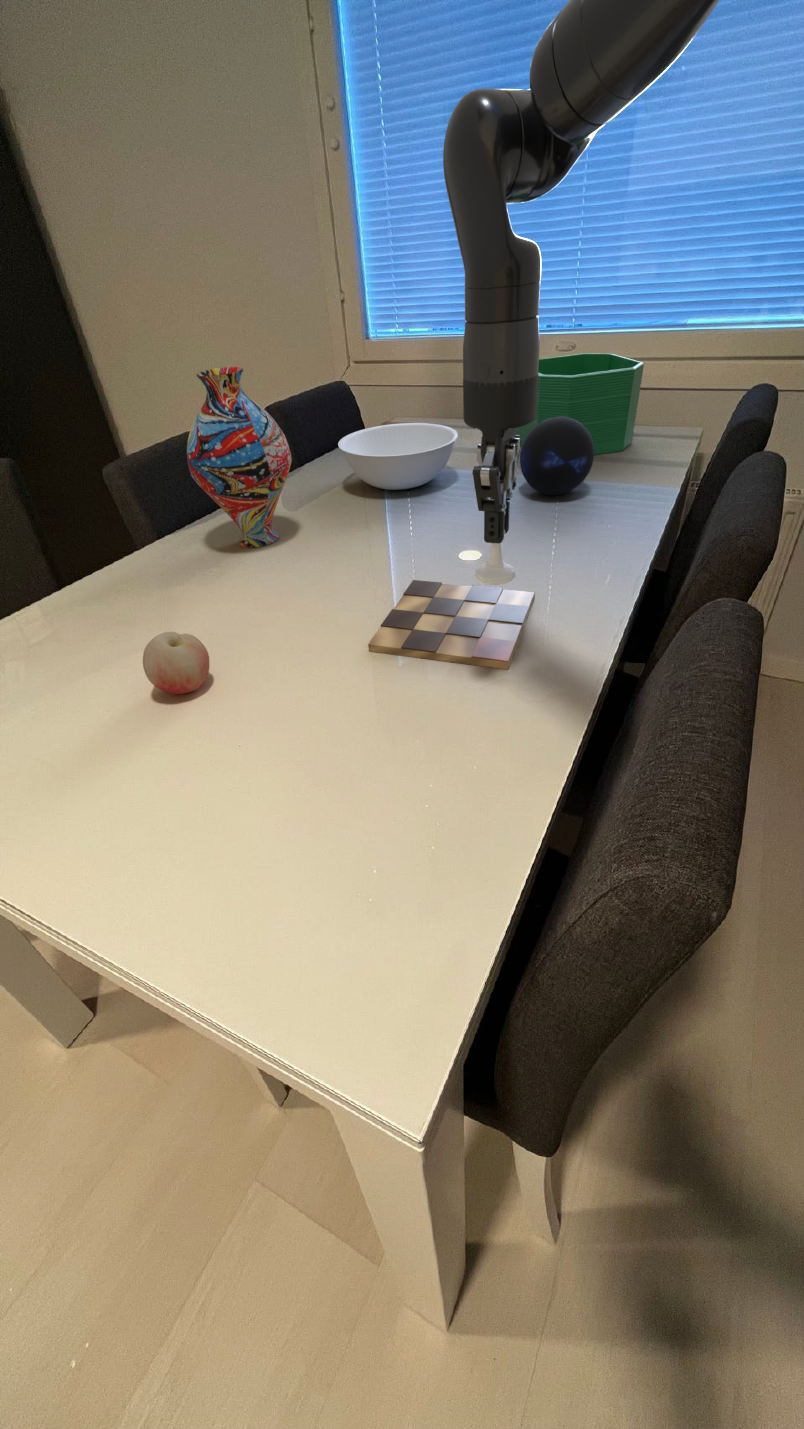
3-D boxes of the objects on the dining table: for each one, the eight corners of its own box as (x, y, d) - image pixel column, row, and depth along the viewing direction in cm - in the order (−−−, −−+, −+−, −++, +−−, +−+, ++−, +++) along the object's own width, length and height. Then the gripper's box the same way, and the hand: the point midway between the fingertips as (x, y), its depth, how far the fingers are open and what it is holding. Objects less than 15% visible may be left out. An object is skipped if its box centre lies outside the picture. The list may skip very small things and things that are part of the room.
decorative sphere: (508, 487, 135) (511, 414, 126) (572, 478, 137) (579, 405, 127) (532, 509, 123) (537, 431, 114) (601, 499, 125) (612, 421, 116)
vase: (270, 515, 132) (237, 358, 114) (323, 534, 121) (296, 364, 103) (194, 543, 123) (144, 378, 104) (244, 567, 111) (198, 386, 93)
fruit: (200, 706, 78) (182, 654, 73) (145, 703, 80) (123, 652, 75) (224, 671, 85) (209, 621, 80) (172, 669, 86) (154, 620, 81)
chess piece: (517, 568, 76) (521, 487, 70) (513, 586, 72) (516, 502, 66) (478, 566, 77) (478, 487, 71) (472, 584, 73) (471, 502, 67)
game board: (534, 599, 94) (535, 590, 93) (507, 669, 80) (508, 661, 79) (413, 587, 100) (413, 579, 99) (368, 651, 86) (367, 643, 85)
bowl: (321, 496, 140) (314, 451, 133) (381, 461, 157) (377, 420, 151) (425, 509, 128) (422, 460, 122) (477, 470, 146) (477, 426, 140)
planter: (642, 448, 150) (656, 365, 138) (543, 462, 147) (549, 379, 135) (594, 424, 170) (603, 350, 158) (506, 437, 167) (509, 362, 155)
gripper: (524, 385, 54) (516, 564, 65) (548, 358, 64) (538, 517, 75) (445, 387, 57) (449, 559, 68) (480, 360, 67) (479, 514, 78)
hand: (496, 536), depth 71 cm, fingers closed on chess piece
